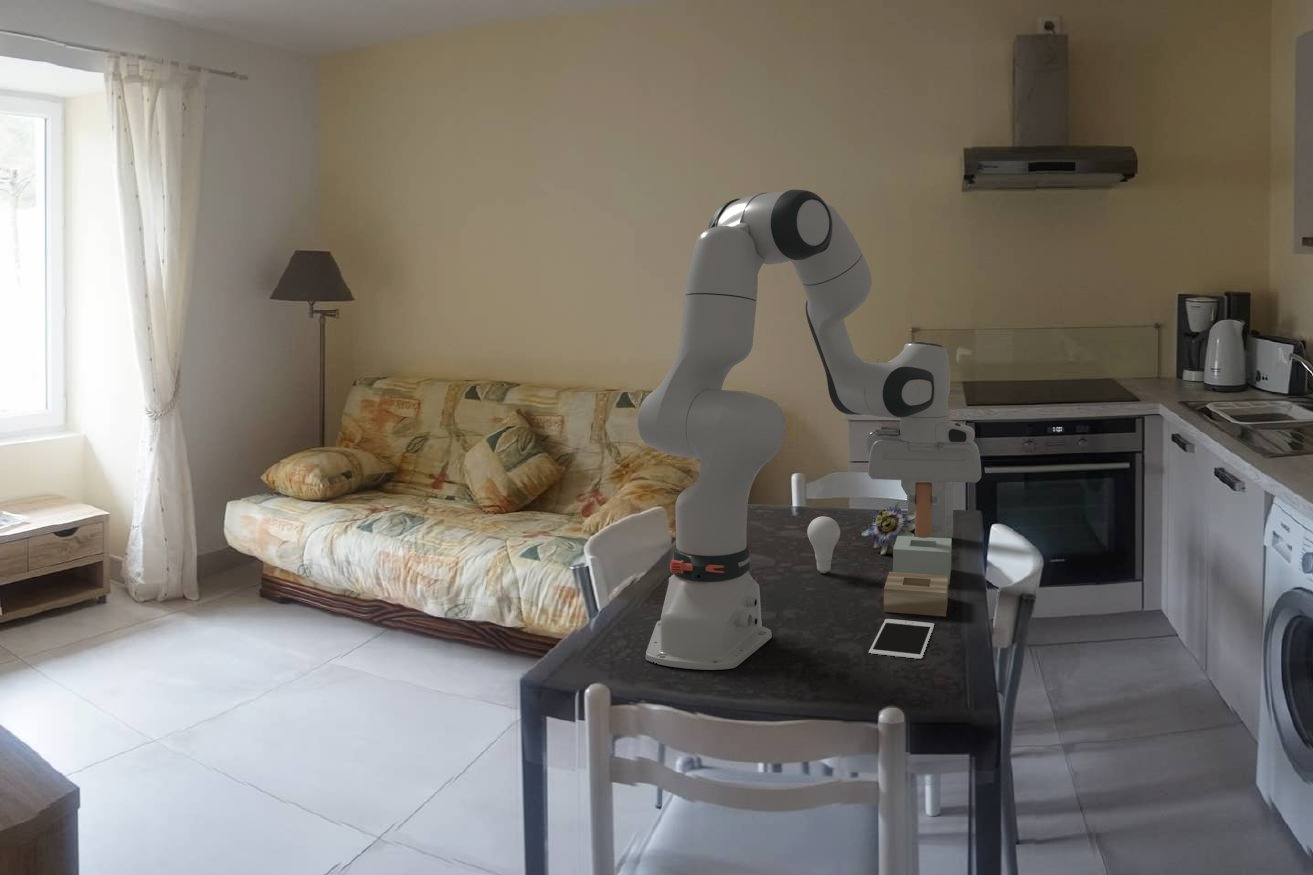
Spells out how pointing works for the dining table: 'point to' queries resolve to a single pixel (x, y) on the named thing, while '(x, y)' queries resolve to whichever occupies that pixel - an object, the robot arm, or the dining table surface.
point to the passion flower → (889, 527)
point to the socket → (922, 555)
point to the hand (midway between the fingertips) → (923, 503)
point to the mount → (916, 594)
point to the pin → (923, 509)
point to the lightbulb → (823, 540)
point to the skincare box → (938, 510)
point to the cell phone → (902, 638)
